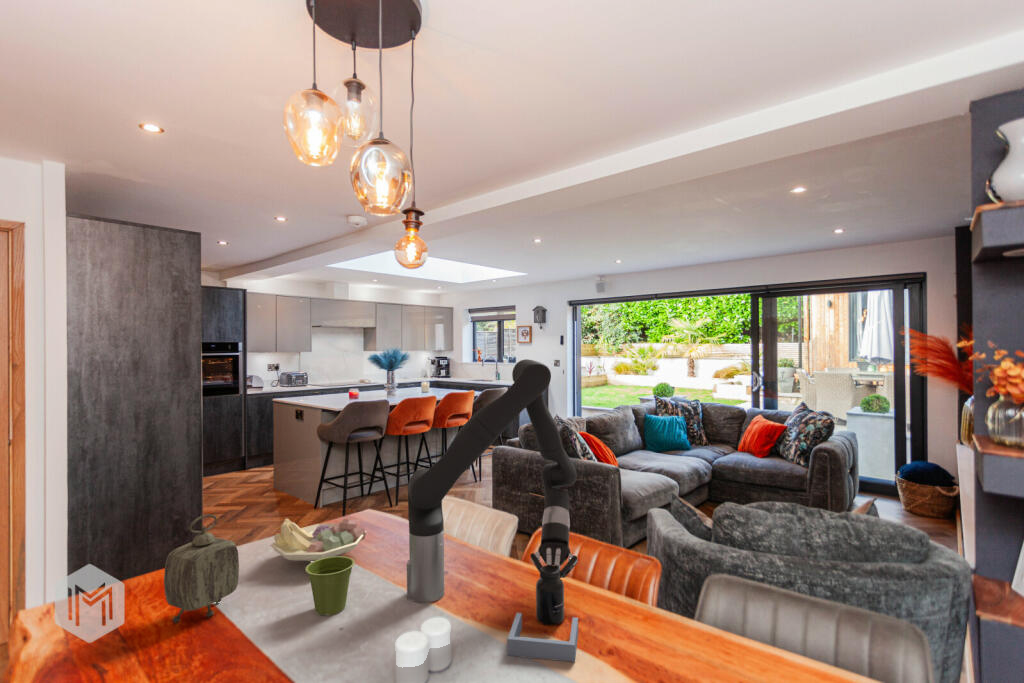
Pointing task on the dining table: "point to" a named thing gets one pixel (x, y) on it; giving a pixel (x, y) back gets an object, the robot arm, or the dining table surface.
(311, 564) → the plant pot
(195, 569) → the tabletop clock
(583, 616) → the dining table surface
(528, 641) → the bay
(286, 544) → the dish with food
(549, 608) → the supplement bottle
